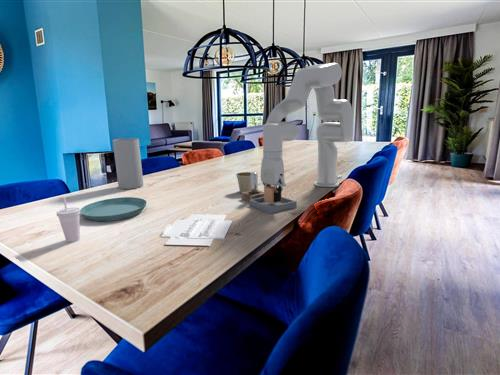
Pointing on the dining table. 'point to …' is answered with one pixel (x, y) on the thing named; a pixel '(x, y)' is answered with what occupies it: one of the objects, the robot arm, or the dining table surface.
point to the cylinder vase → (128, 163)
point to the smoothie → (70, 222)
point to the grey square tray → (273, 205)
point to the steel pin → (254, 183)
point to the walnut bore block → (249, 196)
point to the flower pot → (244, 181)
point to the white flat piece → (196, 230)
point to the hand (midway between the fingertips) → (272, 199)
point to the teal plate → (113, 209)
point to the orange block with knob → (270, 194)
